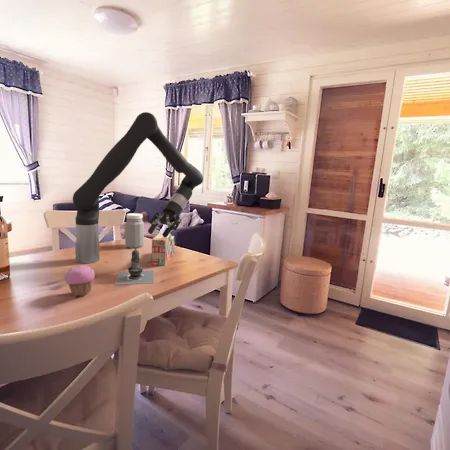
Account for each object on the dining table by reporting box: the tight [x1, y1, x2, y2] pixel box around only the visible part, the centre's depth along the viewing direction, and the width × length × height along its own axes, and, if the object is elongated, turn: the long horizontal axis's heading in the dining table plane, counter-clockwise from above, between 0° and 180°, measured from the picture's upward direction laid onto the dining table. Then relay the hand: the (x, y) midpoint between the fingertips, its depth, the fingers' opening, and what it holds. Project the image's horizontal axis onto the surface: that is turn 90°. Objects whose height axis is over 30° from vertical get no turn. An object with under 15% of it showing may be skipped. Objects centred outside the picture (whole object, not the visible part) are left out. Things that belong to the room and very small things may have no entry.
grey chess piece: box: [127, 248, 144, 280], centre depth 114 cm, size 6×6×12 cm
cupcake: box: [64, 264, 96, 297], centre depth 97 cm, size 9×9×10 cm
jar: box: [124, 212, 145, 249], centre depth 159 cm, size 10×10×18 cm
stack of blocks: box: [151, 232, 175, 267], centre depth 141 cm, size 21×6×12 cm, turn 179°
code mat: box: [114, 270, 155, 286], centre depth 115 cm, size 14×14×1 cm
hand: (156, 234), depth 122 cm, fingers open, 8 cm apart
